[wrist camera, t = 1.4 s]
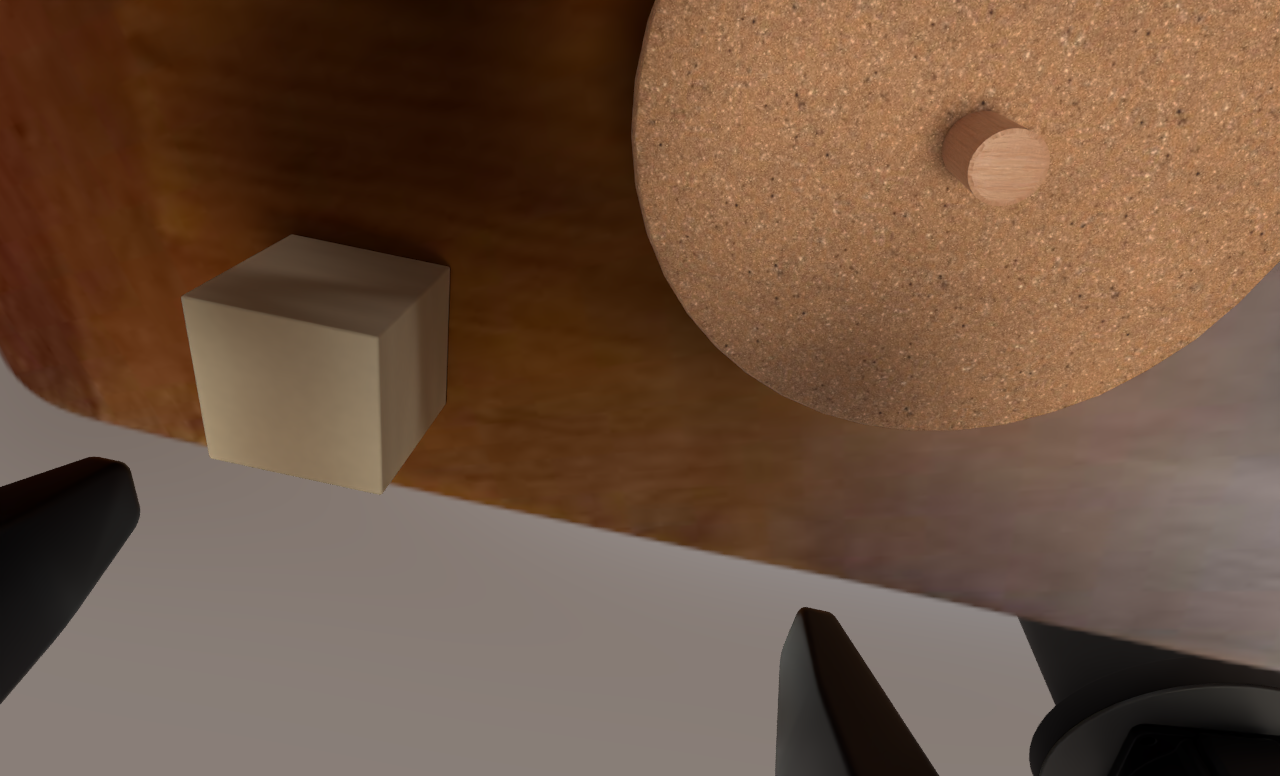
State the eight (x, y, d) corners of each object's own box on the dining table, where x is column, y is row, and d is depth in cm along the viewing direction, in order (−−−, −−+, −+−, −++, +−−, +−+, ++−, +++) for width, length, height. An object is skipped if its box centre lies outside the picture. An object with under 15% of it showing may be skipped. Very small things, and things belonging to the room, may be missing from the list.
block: (451, 266, 22) (378, 337, 17) (446, 404, 24) (382, 496, 20) (291, 233, 22) (179, 296, 17) (303, 373, 24) (208, 459, 20)
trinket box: (1054, 295, 20) (1270, 514, 12) (667, 277, 21) (618, 464, 13) (1208, -202, 14) (1799, -434, 6) (677, -189, 16) (603, -368, 8)
